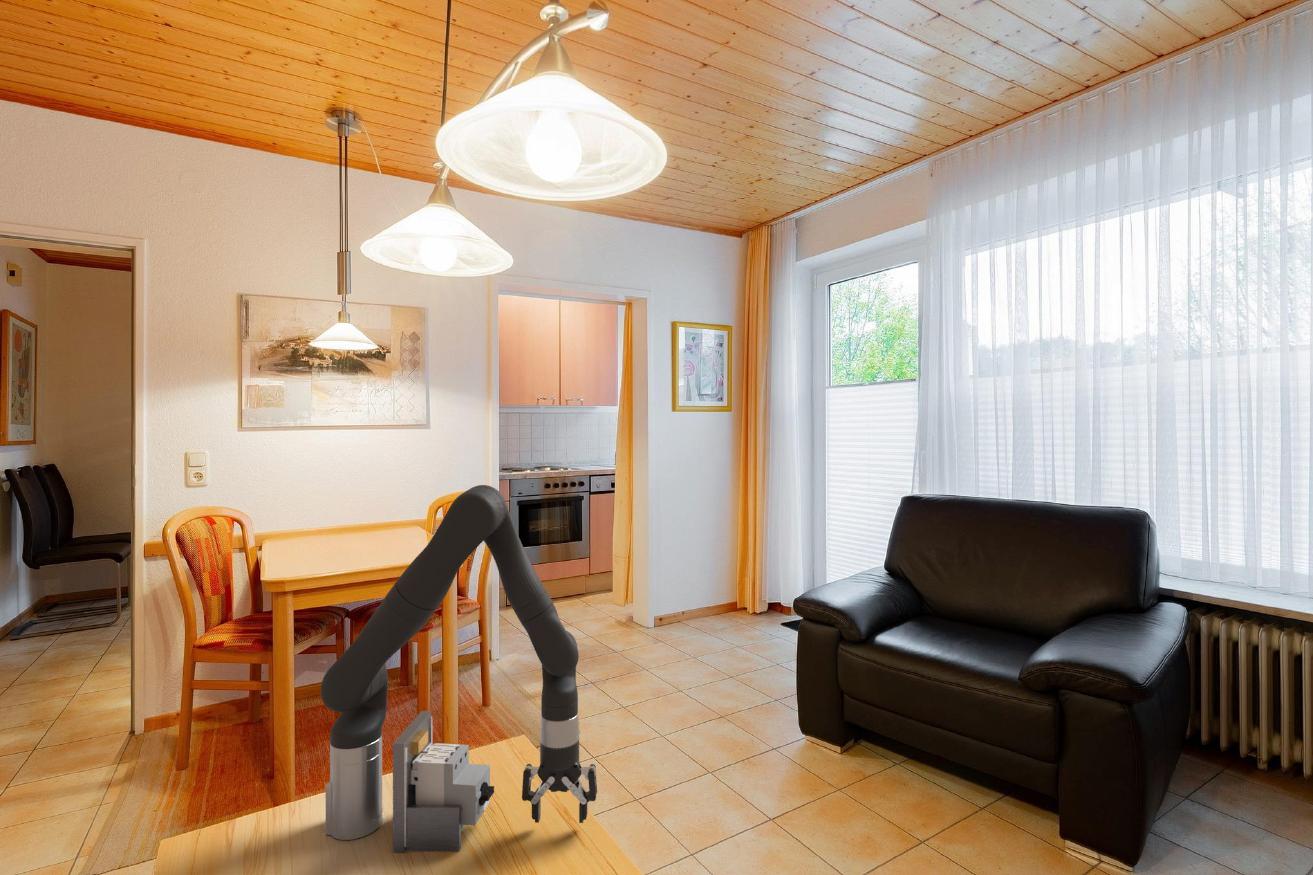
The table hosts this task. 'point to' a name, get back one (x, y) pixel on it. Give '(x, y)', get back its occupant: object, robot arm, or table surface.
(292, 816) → the table surface
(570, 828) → the table surface
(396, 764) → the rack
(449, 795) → the circuit breaker
